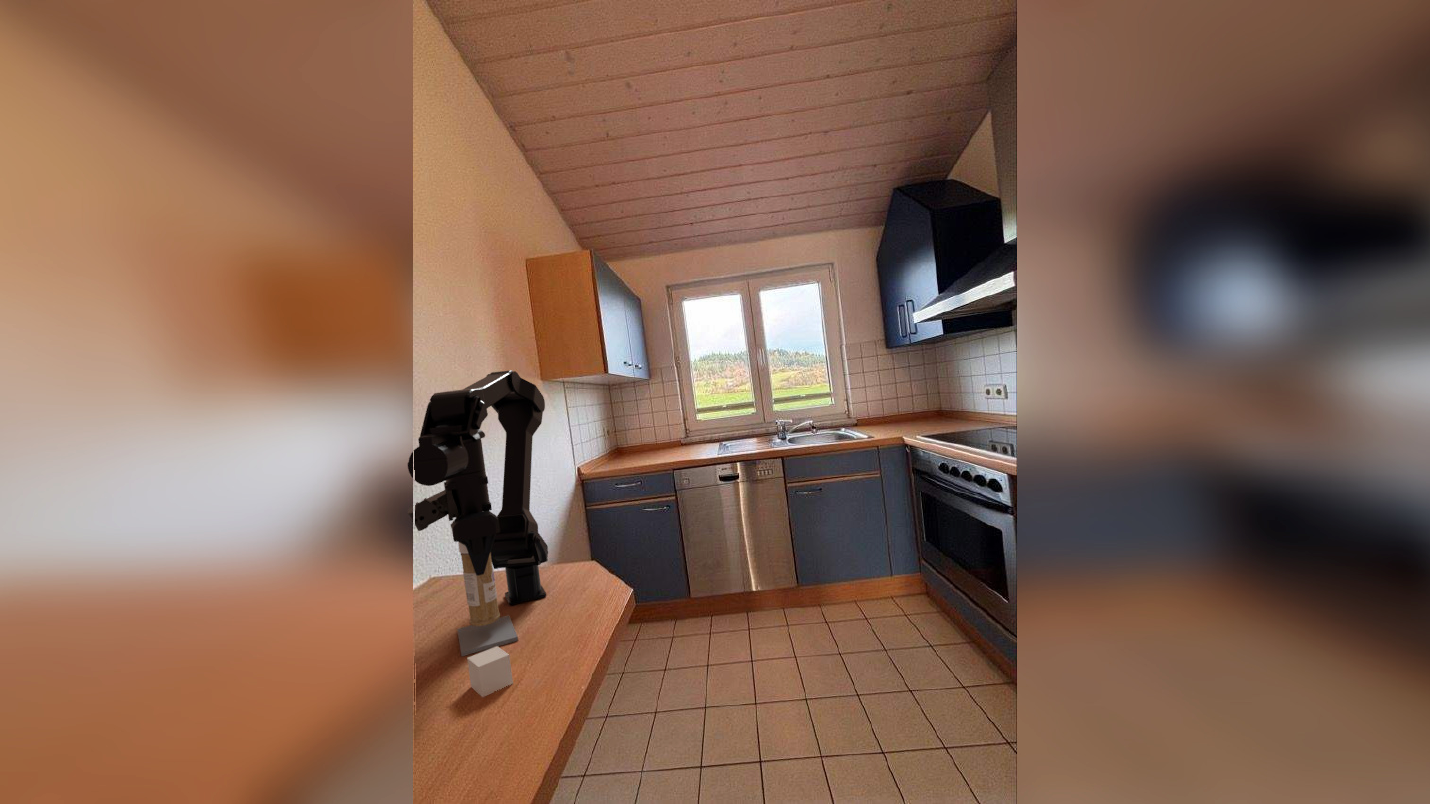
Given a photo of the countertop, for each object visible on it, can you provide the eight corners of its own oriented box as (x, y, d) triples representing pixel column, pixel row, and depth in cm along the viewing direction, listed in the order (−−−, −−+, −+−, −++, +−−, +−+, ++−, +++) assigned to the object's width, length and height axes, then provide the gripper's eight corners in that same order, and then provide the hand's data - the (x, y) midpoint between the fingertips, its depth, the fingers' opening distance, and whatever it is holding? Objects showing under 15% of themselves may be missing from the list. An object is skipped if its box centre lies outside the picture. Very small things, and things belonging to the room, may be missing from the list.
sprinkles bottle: (503, 620, 94) (492, 536, 93) (473, 630, 92) (461, 543, 91) (496, 612, 98) (485, 530, 97) (466, 621, 96) (455, 537, 95)
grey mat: (457, 632, 98) (457, 628, 98) (509, 618, 101) (508, 615, 101) (461, 656, 89) (461, 652, 89) (518, 640, 92) (517, 636, 92)
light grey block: (471, 687, 80) (467, 657, 79) (500, 674, 82) (497, 646, 82) (482, 697, 76) (478, 667, 76) (513, 684, 79) (509, 654, 79)
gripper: (408, 473, 98) (421, 567, 99) (405, 490, 82) (422, 603, 83) (481, 462, 103) (493, 551, 104) (493, 476, 86) (507, 582, 87)
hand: (478, 570), depth 95 cm, fingers closed on sprinkles bottle, 4 cm apart
